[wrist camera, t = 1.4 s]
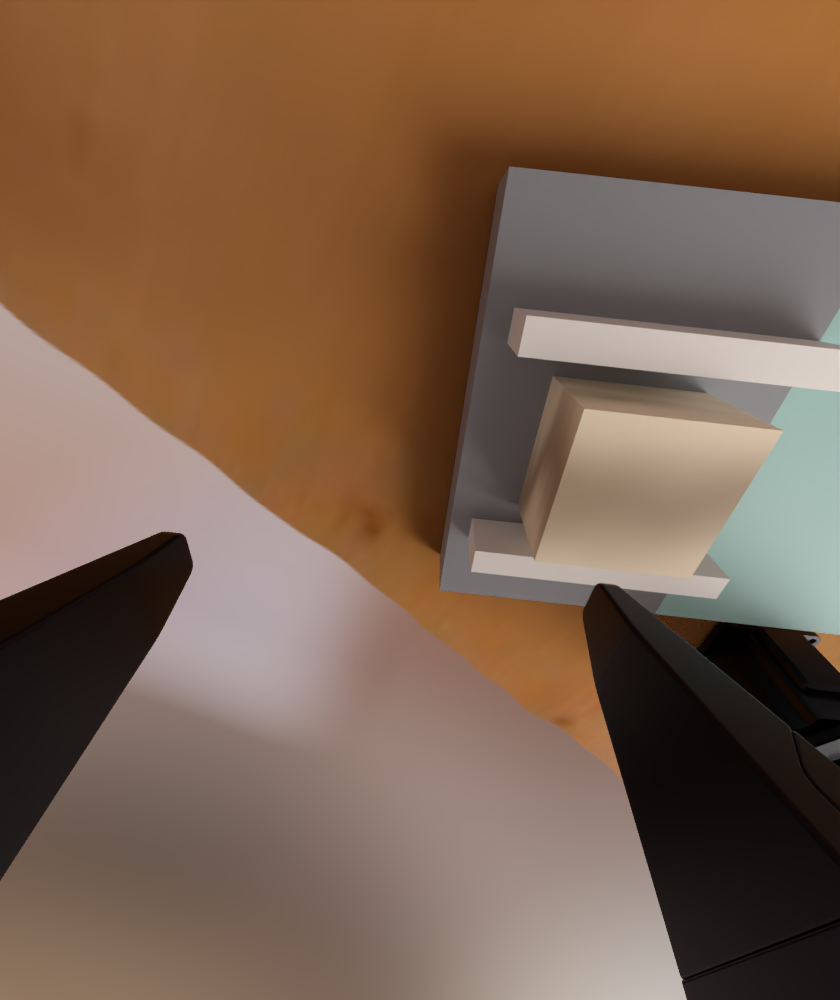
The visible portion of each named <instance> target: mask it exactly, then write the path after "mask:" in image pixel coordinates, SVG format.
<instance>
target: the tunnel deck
mask: <svg viewBox="0 0 840 1000" xmlns="http://www.w3.org/2000/svg"><path fill="white" fill-rule="evenodd" d="M553 376H557V377H566V378H575V379H584V380H593V381H602V382H611V383H620V384H630V385H639V386H648V387H657V388H666V389H675V390H684V391H693V392H702V393H708V394H710V395H712V396H714V397H716V398H718V399H720V400H722V401H724V402H726V403H728V404H730V405H732V406H734V407H736V408H738V409H740V410H742V411H744V412H746V413H748V414H750V415H752V416H755V417H757V418H759V419H761V420H763V421H765V422H767V423H769V424H771V425H773V426H775V427H777V428H779V429H781V430H783V433H782V434H781V436H780V438H779V439H778V441H777V442H776V444H775V446H774V447H773V449H772V450H771V452H770V453H769V455H768V457H767V458H766V460H765V461H764V463H763V465H762V466H761V468H760V469H759V471H758V472H757V474H756V476H755V477H754V479H753V480H752V482H751V484H750V485H749V487H748V488H747V490H746V492H745V493H744V495H743V496H742V498H741V499H740V501H739V503H738V504H737V506H736V507H735V509H734V511H733V512H732V514H731V515H730V517H729V518H728V520H727V522H726V523H725V525H724V526H723V528H722V530H721V531H720V533H719V534H718V536H717V537H716V539H715V541H714V542H713V544H712V545H711V547H710V549H709V550H708V552H707V553H706V555H705V556H704V558H703V560H702V561H701V563H700V564H699V566H698V568H697V569H696V571H695V572H694V574H693V576H692V577H691V579H689V578H680V577H671V576H662V575H653V574H644V573H635V572H626V571H617V570H608V569H599V568H590V567H582V566H573V565H564V564H555V563H546V562H537V561H534V559H533V555H532V552H531V548H530V545H529V542H528V538H527V535H526V531H525V528H524V525H523V521H522V518H521V515H520V511H519V508H518V503H519V499H520V495H521V492H522V488H523V484H524V481H525V477H526V473H527V469H528V466H529V462H530V458H531V455H532V451H533V447H534V444H535V440H536V436H537V433H538V429H539V425H540V422H541V418H542V414H543V410H544V407H545V403H546V399H547V396H548V392H549V388H550V385H551V381H552V377H553ZM598 583H606V584H614V585H617V586H619V587H620V588H622V589H623V590H624V591H625V592H627V593H628V594H629V595H630V596H631V597H633V598H634V599H635V600H636V601H637V602H639V603H640V604H641V605H642V606H644V607H645V608H646V609H647V610H648V611H650V612H651V613H652V614H658V615H667V616H676V617H685V618H694V619H703V620H712V621H721V622H730V623H738V624H747V625H756V626H765V627H774V628H783V629H792V630H801V631H810V632H819V633H828V634H837V635H840V202H833V201H824V200H814V199H805V198H796V197H787V196H778V195H768V194H759V193H750V192H741V191H732V190H722V189H713V188H704V187H695V186H686V185H676V184H667V183H658V182H649V181H640V180H630V179H621V178H612V177H603V176H594V175H585V174H575V173H566V172H557V171H548V170H539V169H529V168H520V167H511V166H509V168H508V169H507V171H506V173H505V174H504V176H503V177H502V179H501V181H500V182H499V184H498V189H497V195H496V201H495V208H494V214H493V221H492V227H491V233H490V240H489V246H488V253H487V259H486V265H485V272H484V278H483V285H482V291H481V297H480V304H479V310H478V317H477V323H476V329H475V336H474V342H473V349H472V355H471V361H470V368H469V374H468V381H467V387H466V393H465V400H464V406H463V412H462V419H461V425H460V432H459V438H458V444H457V451H456V457H455V464H454V470H453V476H452V483H451V489H450V496H449V502H448V508H447V515H446V521H445V528H444V534H443V540H442V547H441V553H440V584H439V590H443V591H452V592H461V593H470V594H478V595H487V596H496V597H505V598H514V599H523V600H532V601H541V602H550V603H559V604H568V605H577V606H585V605H586V603H587V601H588V599H589V597H590V594H591V592H592V590H593V588H594V587H595V585H596V584H598Z"/></svg>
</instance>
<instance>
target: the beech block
mask: <svg viewBox="0 0 840 1000" xmlns="http://www.w3.org/2000/svg"><path fill="white" fill-rule="evenodd" d="M782 433H783V430H781V429H779V428H777V427H775V426H773V425H771V424H769V423H767V422H765V421H763V420H761V419H759V418H757V417H755V416H752V415H750V414H748V413H746V412H744V411H742V410H740V409H738V408H736V407H734V406H732V405H730V404H728V403H726V402H724V401H722V400H720V399H718V398H716V397H714V396H712V395H710V394H708V393H702V392H693V391H684V390H675V389H666V388H657V387H648V386H639V385H630V384H620V383H611V382H602V381H593V380H584V379H575V378H566V377H557V376H553V377H552V381H551V385H550V388H549V392H548V396H547V399H546V403H545V407H544V410H543V414H542V418H541V422H540V425H539V429H538V433H537V436H536V440H535V444H534V447H533V451H532V455H531V458H530V462H529V466H528V469H527V473H526V477H525V481H524V484H523V488H522V492H521V495H520V499H519V503H518V508H519V511H520V515H521V518H522V521H523V525H524V528H525V531H526V535H527V538H528V542H529V545H530V548H531V552H532V555H533V559H534V561H537V562H546V563H555V564H564V565H573V566H582V567H590V568H599V569H608V570H617V571H626V572H635V573H644V574H653V575H662V576H671V577H680V578H689V579H691V577H692V576H693V574H694V572H695V571H696V569H697V568H698V566H699V564H700V563H701V561H702V560H703V558H704V556H705V555H706V553H707V552H708V550H709V549H710V547H711V545H712V544H713V542H714V541H715V539H716V537H717V536H718V534H719V533H720V531H721V530H722V528H723V526H724V525H725V523H726V522H727V520H728V518H729V517H730V515H731V514H732V512H733V511H734V509H735V507H736V506H737V504H738V503H739V501H740V499H741V498H742V496H743V495H744V493H745V492H746V490H747V488H748V487H749V485H750V484H751V482H752V480H753V479H754V477H755V476H756V474H757V472H758V471H759V469H760V468H761V466H762V465H763V463H764V461H765V460H766V458H767V457H768V455H769V453H770V452H771V450H772V449H773V447H774V446H775V444H776V442H777V441H778V439H779V438H780V436H781V434H782Z"/></svg>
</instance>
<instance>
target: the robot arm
mask: <svg viewBox="0 0 840 1000" xmlns="http://www.w3.org/2000/svg"><path fill="white" fill-rule="evenodd" d="M192 568H193V562H192V558H191V554H190V550H189V547H188V543H187V540H186V537H185V536H184V535H183V534H181V533H173V532H160V533H158V534H156V535H153V536H151V537H148V538H146V539H144V540H141V541H139V542H137V543H134V544H132V545H130V546H127V547H125V548H123V549H120V550H118V551H115V552H113V553H111V554H108V555H106V556H103V557H101V558H99V559H96V560H94V561H92V562H90V563H87V564H85V565H82V566H80V567H77V568H75V569H73V570H70V571H68V572H66V573H63V574H61V575H59V576H56V577H54V578H52V579H49V580H47V581H44V582H42V583H40V584H37V585H35V586H33V587H30V588H28V589H26V590H23V591H21V592H19V593H16V594H14V595H11V596H9V597H7V598H5V599H2V600H0V880H1V878H2V877H3V876H4V874H5V873H6V871H7V870H8V868H9V866H10V865H11V863H12V862H13V860H14V859H15V857H16V856H17V854H18V852H19V851H20V849H21V848H22V846H23V845H24V843H25V842H26V840H27V838H28V837H29V836H30V834H31V832H32V831H33V829H34V828H35V826H36V825H37V823H38V822H39V820H40V819H41V817H42V816H43V814H44V812H45V811H46V809H47V808H48V806H49V805H50V803H51V801H52V800H53V799H54V797H55V795H56V794H57V792H58V791H59V789H60V788H61V786H62V785H63V783H64V782H65V780H66V778H67V776H68V775H69V774H70V772H71V771H72V769H73V768H74V766H75V764H76V763H77V761H78V760H79V758H80V757H81V755H82V754H83V752H84V751H85V749H86V748H87V746H88V745H89V743H90V741H91V740H92V738H93V737H94V735H95V734H96V732H97V731H98V729H99V728H100V726H101V724H102V723H103V721H104V720H105V718H106V717H107V715H108V714H109V712H110V711H111V709H112V708H113V706H114V704H115V703H116V701H117V700H118V698H119V696H120V695H121V694H122V692H123V691H124V689H125V687H126V686H127V684H128V683H129V681H130V680H131V678H132V677H133V675H134V674H135V672H136V671H137V669H138V667H139V666H140V664H141V663H142V661H143V660H144V658H145V657H146V655H147V654H148V652H149V650H150V649H151V647H152V646H153V644H154V642H155V641H156V639H157V637H158V636H159V634H160V632H161V631H162V629H163V627H164V625H165V623H166V621H167V619H168V617H169V615H170V614H171V612H172V610H173V608H174V606H175V604H176V602H177V600H178V598H179V596H180V594H181V592H182V590H183V588H184V586H185V584H186V582H187V580H188V578H189V576H190V574H191V571H192ZM583 622H584V628H585V633H586V639H587V644H588V650H589V655H590V661H591V666H592V672H593V677H594V682H595V686H596V690H597V694H598V697H599V701H600V704H601V708H602V711H603V714H604V718H605V721H606V725H607V728H608V731H609V735H610V738H611V742H612V745H613V748H614V752H615V755H616V759H617V762H618V765H619V769H620V772H621V776H622V779H623V782H624V786H625V789H626V793H627V796H628V799H629V803H630V806H631V810H632V813H633V816H634V820H635V823H636V827H637V830H638V833H639V837H640V840H641V843H642V847H643V850H644V854H645V857H646V861H647V864H648V867H649V871H650V874H651V877H652V881H653V884H654V888H655V891H656V895H657V898H658V901H659V904H660V908H661V911H662V915H663V918H664V921H665V925H666V928H667V932H668V935H669V939H670V942H671V945H672V949H673V952H674V956H675V959H676V962H677V966H678V969H679V973H680V976H681V978H682V979H683V980H682V984H683V988H684V990H685V994H686V998H687V1000H840V673H839V672H838V671H837V670H836V669H835V668H834V667H833V666H832V665H831V663H830V662H829V661H828V660H827V659H826V658H825V657H824V656H823V655H822V654H821V653H820V652H819V651H818V650H817V649H816V648H815V647H816V646H817V645H818V643H819V642H820V641H821V638H820V637H819V636H818V635H817V634H816V633H815V632H810V631H801V630H792V629H783V628H774V627H765V626H756V625H747V624H738V623H730V622H724V623H721V624H719V625H717V626H716V628H715V629H714V630H713V632H712V633H711V634H710V636H709V637H708V638H707V640H706V641H705V642H704V644H703V645H702V646H701V648H700V649H699V650H698V651H697V650H696V649H695V648H693V647H692V646H691V645H690V644H689V643H687V642H686V641H685V640H684V639H682V638H681V637H680V636H679V635H678V634H676V633H675V632H674V631H673V630H672V629H670V628H669V627H668V626H667V625H665V624H664V623H663V622H662V621H661V620H659V619H658V618H657V617H656V616H654V615H653V614H652V613H651V612H650V611H648V610H647V609H646V608H645V607H644V606H642V605H641V604H640V603H639V602H637V601H636V600H635V599H634V598H633V597H631V596H630V595H629V594H628V593H627V592H625V591H624V590H623V589H622V588H620V587H619V586H617V585H614V584H606V583H598V584H596V585H595V587H594V588H593V590H592V592H591V594H590V597H589V599H588V601H587V603H586V605H585V607H584V610H583Z"/></svg>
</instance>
